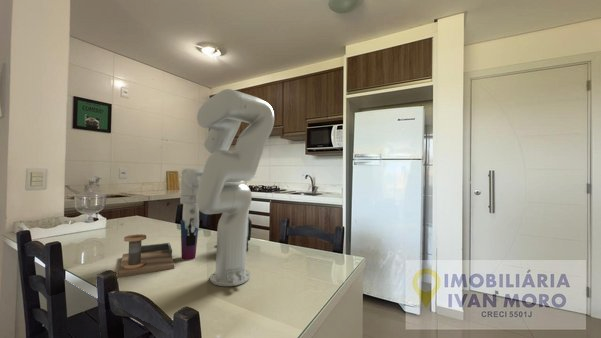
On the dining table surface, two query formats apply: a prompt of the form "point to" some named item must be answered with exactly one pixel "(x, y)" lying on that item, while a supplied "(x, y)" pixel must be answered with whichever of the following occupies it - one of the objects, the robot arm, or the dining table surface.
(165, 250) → the board
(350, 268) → the dining table surface
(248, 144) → the robot arm
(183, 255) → the cup
